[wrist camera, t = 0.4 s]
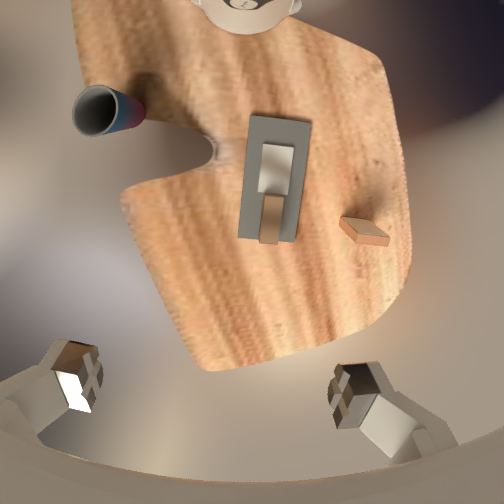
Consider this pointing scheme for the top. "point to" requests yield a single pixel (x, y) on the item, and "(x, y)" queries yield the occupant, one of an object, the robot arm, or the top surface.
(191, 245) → the top surface
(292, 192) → the rest mat
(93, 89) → the cup
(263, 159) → the turner
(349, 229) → the tile
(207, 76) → the top surface
